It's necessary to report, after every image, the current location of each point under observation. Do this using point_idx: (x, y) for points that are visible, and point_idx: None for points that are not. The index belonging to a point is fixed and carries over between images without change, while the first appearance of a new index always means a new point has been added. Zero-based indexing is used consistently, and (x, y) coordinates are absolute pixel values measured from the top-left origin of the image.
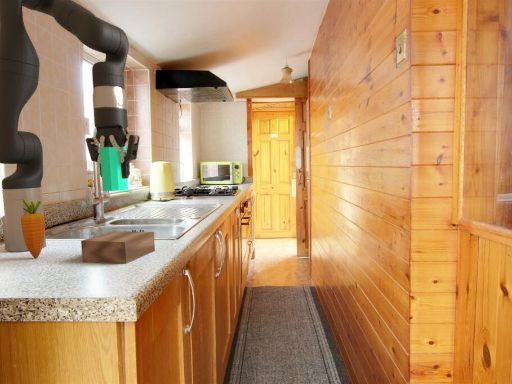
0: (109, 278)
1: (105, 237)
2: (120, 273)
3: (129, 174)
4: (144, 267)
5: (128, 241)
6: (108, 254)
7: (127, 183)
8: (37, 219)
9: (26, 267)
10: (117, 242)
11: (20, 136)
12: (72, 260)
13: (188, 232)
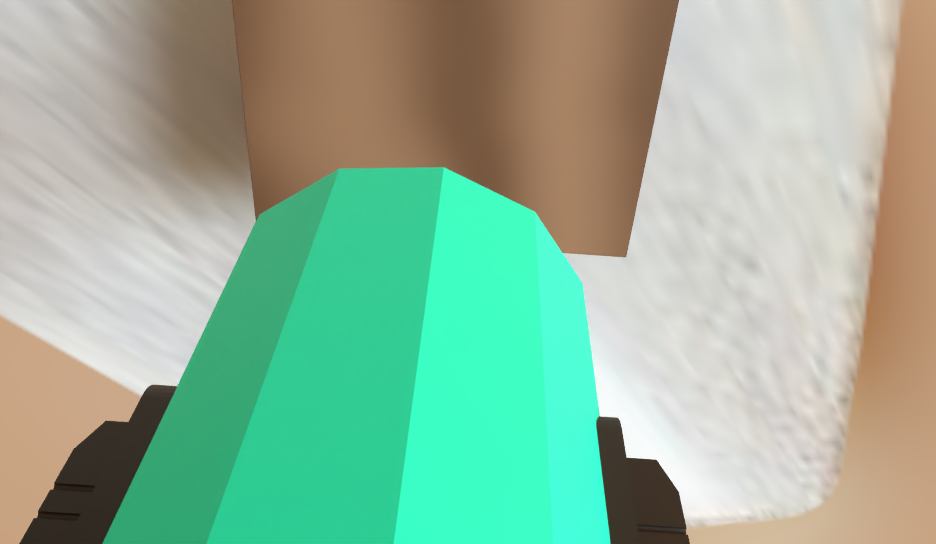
0: (648, 382)
1: (363, 122)
2: (666, 326)
3: (669, 483)
4: (756, 237)
5: (632, 219)
6: None
7: (591, 356)
8: None
9: (64, 273)
10: (566, 251)
11: None
12: (195, 137)
13: None
